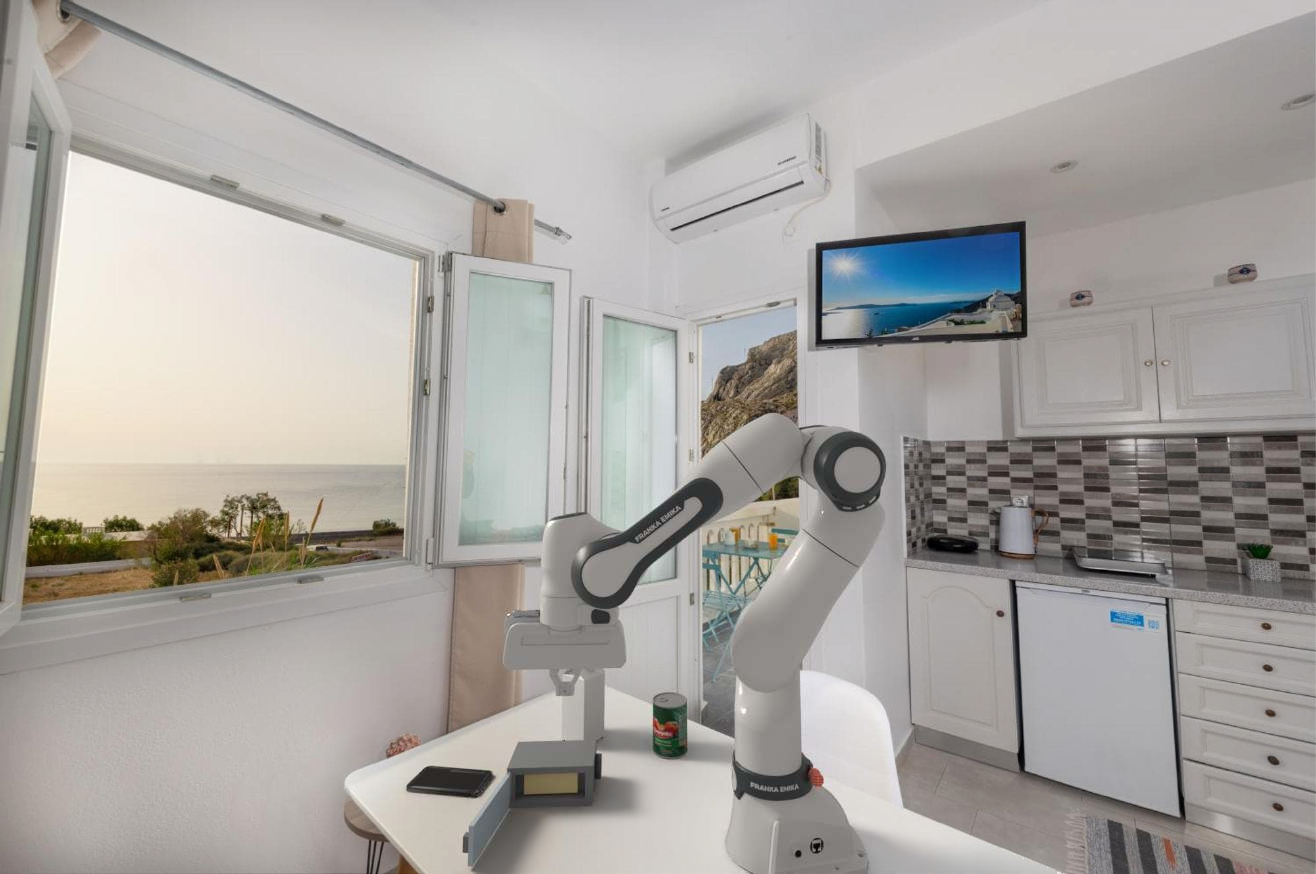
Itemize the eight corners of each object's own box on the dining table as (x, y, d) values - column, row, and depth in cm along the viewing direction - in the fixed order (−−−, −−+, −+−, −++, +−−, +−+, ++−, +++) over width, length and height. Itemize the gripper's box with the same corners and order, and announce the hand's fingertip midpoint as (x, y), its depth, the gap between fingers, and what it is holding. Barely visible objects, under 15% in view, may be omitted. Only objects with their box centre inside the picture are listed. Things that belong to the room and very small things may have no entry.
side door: (473, 866, 80) (474, 826, 80) (461, 865, 80) (462, 825, 80) (511, 806, 94) (512, 772, 95) (501, 805, 94) (502, 771, 95)
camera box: (601, 774, 105) (602, 739, 106) (599, 804, 95) (599, 765, 96) (517, 777, 104) (518, 741, 105) (506, 808, 94) (507, 768, 95)
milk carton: (561, 740, 119) (562, 656, 120) (582, 728, 125) (583, 648, 126) (583, 749, 115) (584, 662, 116) (604, 736, 120) (605, 653, 122)
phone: (476, 794, 97) (403, 787, 99) (476, 800, 97) (403, 793, 99) (494, 770, 105) (427, 764, 107) (494, 776, 105) (427, 770, 107)
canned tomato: (688, 741, 118) (688, 692, 119) (687, 760, 111) (686, 707, 111) (654, 740, 119) (654, 691, 120) (650, 758, 111) (650, 706, 112)
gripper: (499, 615, 82) (496, 704, 81) (626, 613, 83) (625, 701, 82) (508, 605, 88) (506, 688, 87) (626, 604, 90) (625, 685, 88)
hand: (565, 694), depth 85 cm, fingers closed
